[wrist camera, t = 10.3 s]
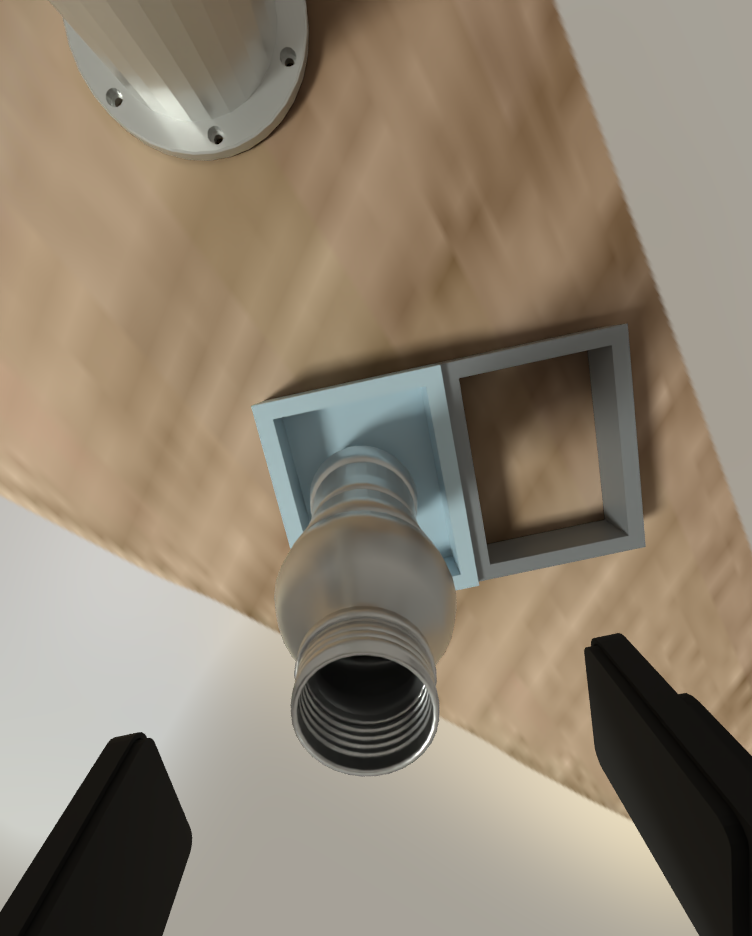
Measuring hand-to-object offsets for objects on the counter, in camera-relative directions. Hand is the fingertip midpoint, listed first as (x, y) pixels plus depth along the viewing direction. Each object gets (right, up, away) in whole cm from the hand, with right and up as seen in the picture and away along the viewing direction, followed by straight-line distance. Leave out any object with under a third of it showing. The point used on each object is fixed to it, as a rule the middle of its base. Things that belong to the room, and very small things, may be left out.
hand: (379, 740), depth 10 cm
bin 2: (+10, +7, +21) cm, 25 cm away
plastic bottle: (-1, +4, +21) cm, 22 cm away
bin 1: (0, +5, +21) cm, 22 cm away
